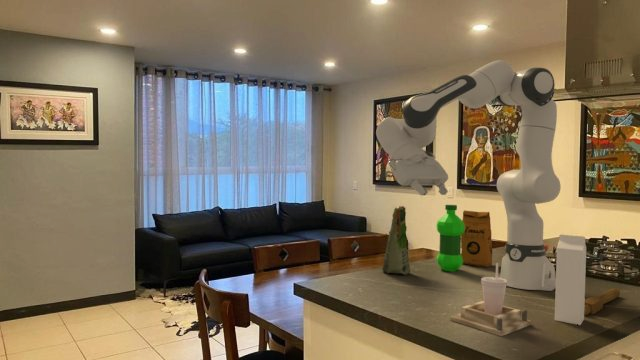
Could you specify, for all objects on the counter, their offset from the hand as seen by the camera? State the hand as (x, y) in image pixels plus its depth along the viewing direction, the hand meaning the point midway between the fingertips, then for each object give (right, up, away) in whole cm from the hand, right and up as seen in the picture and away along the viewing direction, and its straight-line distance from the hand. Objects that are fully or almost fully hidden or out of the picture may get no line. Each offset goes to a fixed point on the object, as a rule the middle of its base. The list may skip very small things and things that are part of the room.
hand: (435, 193), depth 135 cm
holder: (+10, -32, -17) cm, 38 cm away
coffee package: (+31, -31, +56) cm, 71 cm away
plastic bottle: (+17, -31, +45) cm, 57 cm away
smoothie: (+11, -31, -16) cm, 37 cm away
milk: (+32, -33, -14) cm, 47 cm away
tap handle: (+48, -33, +1) cm, 58 cm away
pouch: (-5, -31, +38) cm, 49 cm away
